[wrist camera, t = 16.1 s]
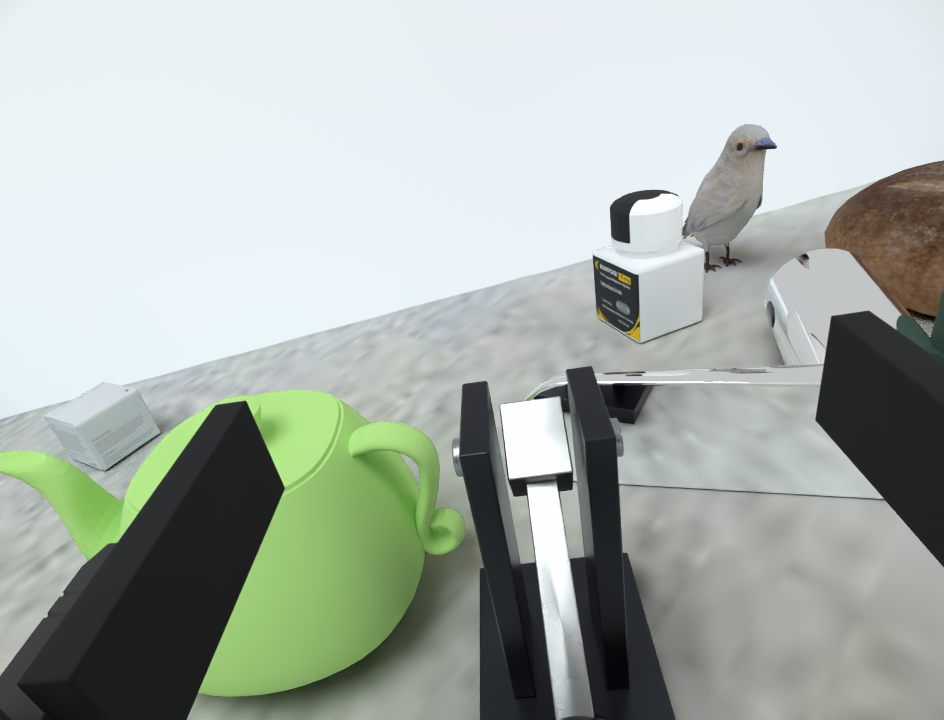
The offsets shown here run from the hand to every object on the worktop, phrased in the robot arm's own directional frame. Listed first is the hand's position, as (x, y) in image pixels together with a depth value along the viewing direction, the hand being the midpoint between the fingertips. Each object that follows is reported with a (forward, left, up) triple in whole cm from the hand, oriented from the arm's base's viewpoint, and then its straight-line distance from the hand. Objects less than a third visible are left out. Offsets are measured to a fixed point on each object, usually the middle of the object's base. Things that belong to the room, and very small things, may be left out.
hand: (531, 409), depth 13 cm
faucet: (+1, -28, -19) cm, 34 cm away
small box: (+47, -7, -19) cm, 51 cm away
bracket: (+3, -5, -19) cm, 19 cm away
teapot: (+19, -2, -19) cm, 27 cm away
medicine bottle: (+9, -40, -19) cm, 45 cm away
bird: (+5, -54, -19) cm, 57 cm away
